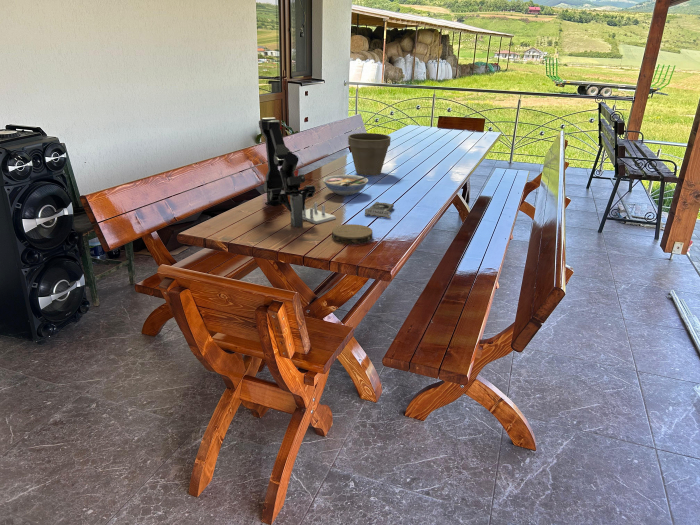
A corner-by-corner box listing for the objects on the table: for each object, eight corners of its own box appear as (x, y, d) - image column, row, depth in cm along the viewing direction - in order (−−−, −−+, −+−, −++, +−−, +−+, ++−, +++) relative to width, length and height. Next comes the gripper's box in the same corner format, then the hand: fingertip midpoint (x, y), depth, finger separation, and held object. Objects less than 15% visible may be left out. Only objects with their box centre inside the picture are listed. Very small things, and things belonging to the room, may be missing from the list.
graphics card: (390, 212, 227) (364, 208, 230) (389, 220, 228) (363, 216, 232) (400, 203, 241) (375, 199, 245) (399, 210, 243) (375, 207, 246)
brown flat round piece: (359, 229, 215) (360, 222, 214) (380, 241, 202) (380, 233, 201) (325, 234, 208) (325, 227, 207) (343, 247, 195) (343, 239, 194)
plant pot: (387, 178, 298) (388, 140, 290) (344, 176, 302) (344, 138, 293) (391, 169, 321) (392, 133, 313) (351, 167, 324) (351, 132, 316)
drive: (290, 223, 220) (289, 193, 215) (299, 222, 221) (298, 192, 216) (294, 227, 215) (293, 196, 210) (302, 226, 217) (302, 195, 212)
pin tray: (292, 215, 230) (292, 204, 228) (311, 210, 238) (311, 199, 236) (316, 223, 220) (316, 212, 218) (335, 218, 227) (335, 207, 225)
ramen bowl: (339, 186, 281) (339, 170, 278) (377, 191, 271) (377, 176, 267) (313, 196, 261) (312, 180, 258) (352, 202, 251) (352, 186, 248)
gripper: (270, 169, 209) (278, 203, 204) (314, 166, 216) (323, 198, 211) (265, 184, 219) (274, 216, 214) (308, 180, 226) (317, 212, 221)
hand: (297, 210), depth 214 cm, fingers open, 5 cm apart
